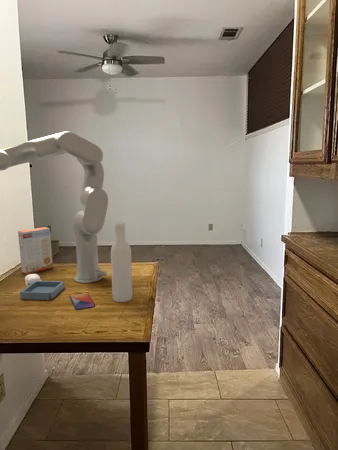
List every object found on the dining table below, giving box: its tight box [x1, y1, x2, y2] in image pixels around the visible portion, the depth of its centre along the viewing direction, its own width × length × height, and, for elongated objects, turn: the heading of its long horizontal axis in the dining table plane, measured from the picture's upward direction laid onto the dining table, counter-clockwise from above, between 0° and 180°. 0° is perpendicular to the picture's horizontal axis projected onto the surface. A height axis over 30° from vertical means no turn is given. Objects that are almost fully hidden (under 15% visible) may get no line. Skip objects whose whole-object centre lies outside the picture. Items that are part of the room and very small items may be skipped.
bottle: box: [110, 221, 134, 303], centre depth 137 cm, size 8×8×30 cm
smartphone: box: [69, 291, 96, 311], centre depth 137 cm, size 7×15×1 cm, turn 24°
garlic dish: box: [19, 280, 66, 301], centre depth 146 cm, size 13×14×3 cm
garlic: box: [24, 273, 42, 286], centre depth 159 cm, size 8×7×4 cm
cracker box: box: [17, 226, 54, 275], centre depth 176 cm, size 14×6×21 cm, turn 136°
